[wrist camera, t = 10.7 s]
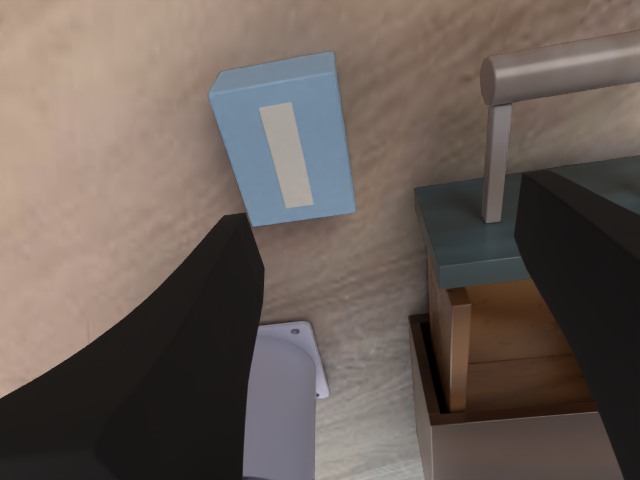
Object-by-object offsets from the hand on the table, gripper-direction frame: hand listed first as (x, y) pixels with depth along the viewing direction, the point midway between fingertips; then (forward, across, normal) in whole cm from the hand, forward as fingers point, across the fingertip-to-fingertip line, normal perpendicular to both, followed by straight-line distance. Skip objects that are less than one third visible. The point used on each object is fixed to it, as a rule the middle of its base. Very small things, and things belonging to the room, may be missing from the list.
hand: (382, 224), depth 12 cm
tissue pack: (+8, +3, +1) cm, 9 cm away
